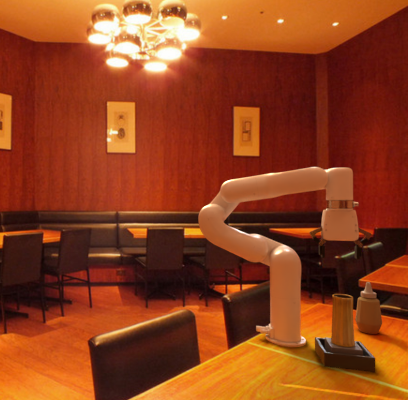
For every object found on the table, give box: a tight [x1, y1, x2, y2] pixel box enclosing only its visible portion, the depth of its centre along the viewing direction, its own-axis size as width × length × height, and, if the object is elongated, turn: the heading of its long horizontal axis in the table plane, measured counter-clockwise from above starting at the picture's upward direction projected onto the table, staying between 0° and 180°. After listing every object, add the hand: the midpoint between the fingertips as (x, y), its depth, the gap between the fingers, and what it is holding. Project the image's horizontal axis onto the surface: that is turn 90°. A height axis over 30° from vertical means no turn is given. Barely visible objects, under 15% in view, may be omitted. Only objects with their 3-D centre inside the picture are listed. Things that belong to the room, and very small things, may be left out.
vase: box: [330, 293, 355, 347], centre depth 112 cm, size 6×6×14 cm
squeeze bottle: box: [354, 281, 383, 335], centre depth 137 cm, size 8×8×18 cm
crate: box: [314, 337, 376, 374], centre depth 112 cm, size 13×13×4 cm
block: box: [324, 337, 363, 356], centre depth 112 cm, size 8×8×5 cm
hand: (339, 258), depth 123 cm, fingers open, 9 cm apart
